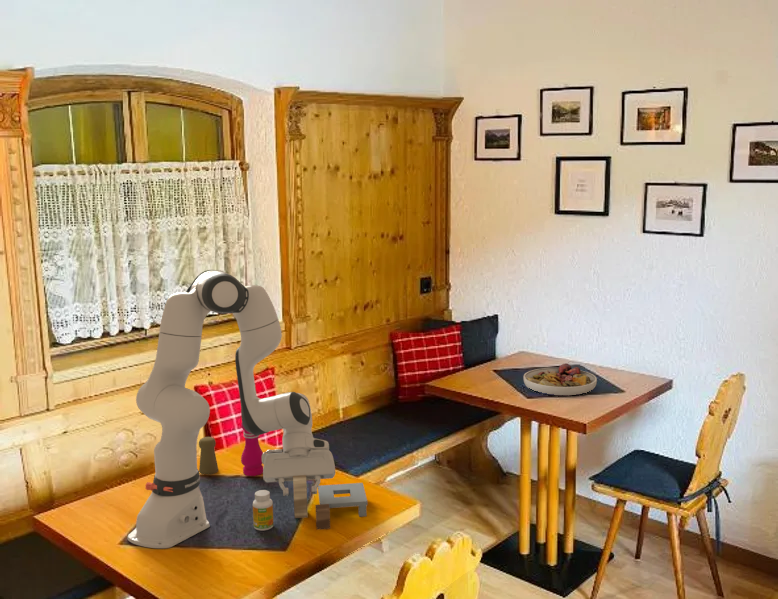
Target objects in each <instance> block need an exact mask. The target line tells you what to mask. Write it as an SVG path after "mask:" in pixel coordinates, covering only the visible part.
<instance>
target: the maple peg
mask: <svg viewBox="0 0 778 599" xmlns="http://www.w3.org/2000/svg"><path fill="white" fill-rule="evenodd" d="M292 483H293V485H292V486H293V506H294V507H293V510H294V512H293V513H294V519H300V518H301V519H303V518H309V517H308V514H309V513H308V487H307V484H308V483H307V480H306V475H300V476H293V481H292Z"/></svg>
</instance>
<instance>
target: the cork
mask: <svg viewBox="0 0 778 599" xmlns="http://www.w3.org/2000/svg"><path fill="white" fill-rule="evenodd" d="M216 445H217V444H216V439H215V438H214V437H212V436H204V437H202V438H200V439H199V441H198V447H199V449H200V453H199V454H200V456H199V457H200V458H199V465H198V468H199V469H198V470H199V472H200V473H201V474H200V473H199V474H200V475H203V474H208V475H207V476H209V474H210V475H213V474H217V473H218V472H219V466H218V461H217V456H216V452H215V451H216V450H215V447H216Z"/></svg>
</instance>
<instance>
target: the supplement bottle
mask: <svg viewBox="0 0 778 599" xmlns="http://www.w3.org/2000/svg"><path fill="white" fill-rule="evenodd" d="M252 518H253V524H252V525H253V529H254V530H257V531H262V532H263V531H269V530H271V529H272V528H274V523H275V522H274V502H273V500H272V499H271V493H270V491H269V490H266V489H260V490H257V491H255V493H254V500H253V502H252Z"/></svg>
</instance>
